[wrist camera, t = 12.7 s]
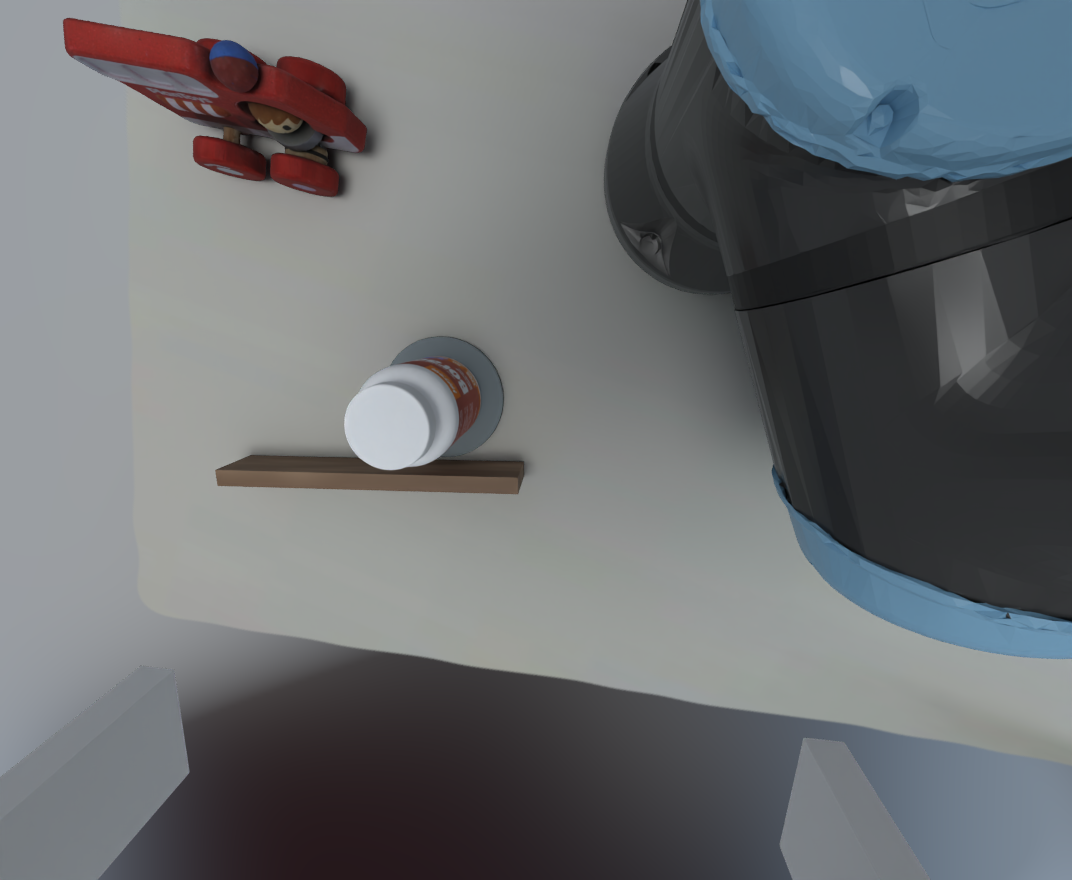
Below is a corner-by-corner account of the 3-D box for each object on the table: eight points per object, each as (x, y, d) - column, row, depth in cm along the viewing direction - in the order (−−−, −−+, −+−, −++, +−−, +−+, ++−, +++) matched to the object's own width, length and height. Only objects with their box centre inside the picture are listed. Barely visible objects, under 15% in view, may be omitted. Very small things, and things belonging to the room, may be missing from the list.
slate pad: (382, 336, 37) (378, 336, 36) (502, 336, 36) (501, 337, 35) (390, 453, 39) (387, 455, 38) (504, 456, 38) (503, 458, 37)
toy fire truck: (372, 206, 35) (289, 159, 24) (202, 172, 35) (50, 111, 25) (384, 95, 33) (300, -5, 23) (205, 60, 33) (44, -55, 23)
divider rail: (250, 455, 40) (215, 470, 36) (523, 461, 38) (517, 477, 34) (252, 469, 40) (217, 485, 36) (523, 476, 38) (517, 494, 34)
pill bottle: (494, 372, 36) (460, 394, 25) (467, 449, 37) (425, 500, 27) (413, 342, 36) (345, 351, 25) (390, 420, 37) (317, 460, 27)
